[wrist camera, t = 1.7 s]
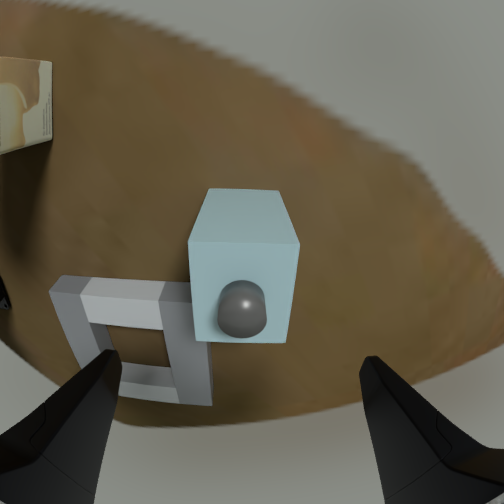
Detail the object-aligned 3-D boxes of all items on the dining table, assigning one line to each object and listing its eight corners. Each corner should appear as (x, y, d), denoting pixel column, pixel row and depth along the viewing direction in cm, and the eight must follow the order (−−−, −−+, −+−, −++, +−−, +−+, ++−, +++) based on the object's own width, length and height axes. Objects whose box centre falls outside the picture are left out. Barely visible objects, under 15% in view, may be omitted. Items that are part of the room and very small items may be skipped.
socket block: (99, 373, 27) (92, 390, 25) (62, 274, 22) (48, 291, 19) (213, 386, 28) (212, 405, 26) (207, 283, 22) (203, 303, 20)
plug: (210, 262, 21) (192, 362, 13) (209, 188, 19) (181, 259, 10) (272, 264, 22) (288, 364, 13) (278, 190, 19) (306, 262, 11)
